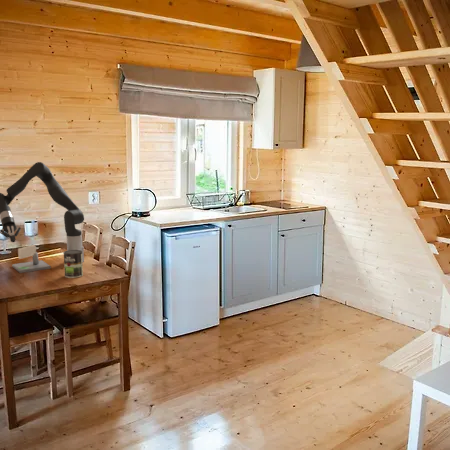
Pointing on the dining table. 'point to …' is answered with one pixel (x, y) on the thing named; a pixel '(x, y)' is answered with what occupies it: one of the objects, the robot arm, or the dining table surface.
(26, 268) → the board
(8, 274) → the dining table surface
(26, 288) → the dining table surface
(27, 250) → the lever handle
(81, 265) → the coffee can
